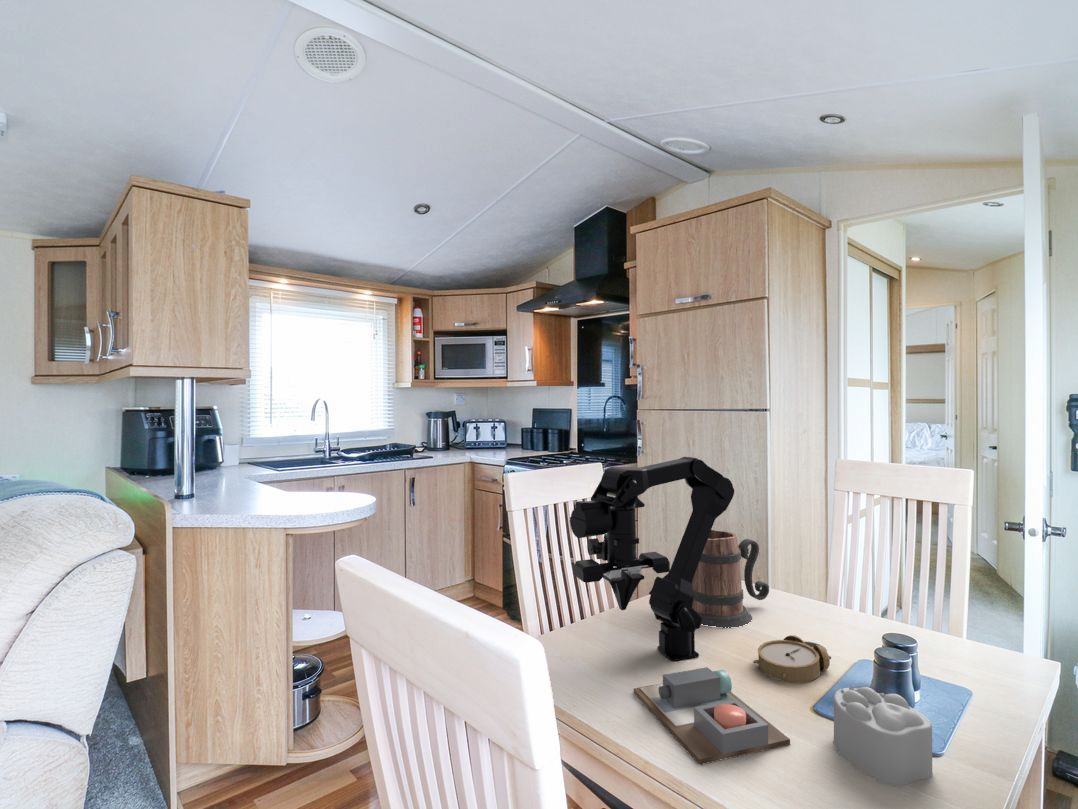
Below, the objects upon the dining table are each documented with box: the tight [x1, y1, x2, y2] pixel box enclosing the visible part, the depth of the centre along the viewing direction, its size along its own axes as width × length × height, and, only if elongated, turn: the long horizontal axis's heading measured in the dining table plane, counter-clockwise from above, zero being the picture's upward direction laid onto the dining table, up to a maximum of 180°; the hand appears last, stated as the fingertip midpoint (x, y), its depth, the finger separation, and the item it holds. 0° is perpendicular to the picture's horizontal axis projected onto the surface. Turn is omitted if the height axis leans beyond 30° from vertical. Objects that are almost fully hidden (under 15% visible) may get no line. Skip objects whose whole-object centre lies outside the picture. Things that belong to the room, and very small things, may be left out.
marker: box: [658, 667, 733, 709], centre depth 104 cm, size 13×4×4 cm, turn 107°
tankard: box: [692, 529, 770, 629], centre depth 146 cm, size 24×17×20 cm
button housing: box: [694, 699, 768, 754], centre depth 93 cm, size 8×8×3 cm
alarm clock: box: [752, 634, 832, 684], centre depth 117 cm, size 11×5×15 cm
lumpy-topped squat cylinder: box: [833, 686, 933, 787], centre depth 88 cm, size 10×13×9 cm
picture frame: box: [633, 682, 791, 765], centre depth 100 cm, size 16×22×1 cm
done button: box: [714, 704, 746, 729], centre depth 93 cm, size 5×5×3 cm
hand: (622, 609), depth 117 cm, fingers closed
